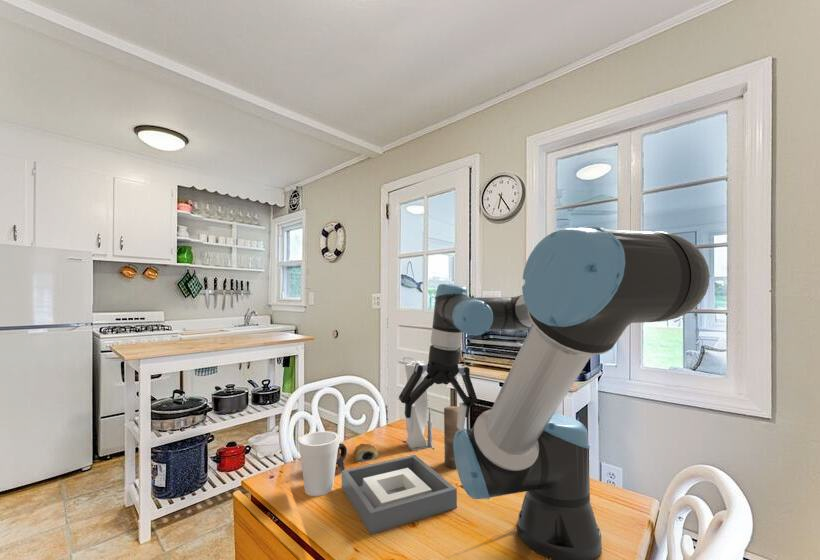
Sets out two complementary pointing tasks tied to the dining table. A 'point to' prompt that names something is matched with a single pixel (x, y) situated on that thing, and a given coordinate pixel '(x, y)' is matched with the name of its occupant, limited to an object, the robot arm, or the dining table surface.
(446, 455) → the walnut peg
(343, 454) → the pottery mug
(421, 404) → the skyscraper
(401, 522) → the open box
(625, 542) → the dining table surface
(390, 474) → the bore plate
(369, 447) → the pastry
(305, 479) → the foam cup
